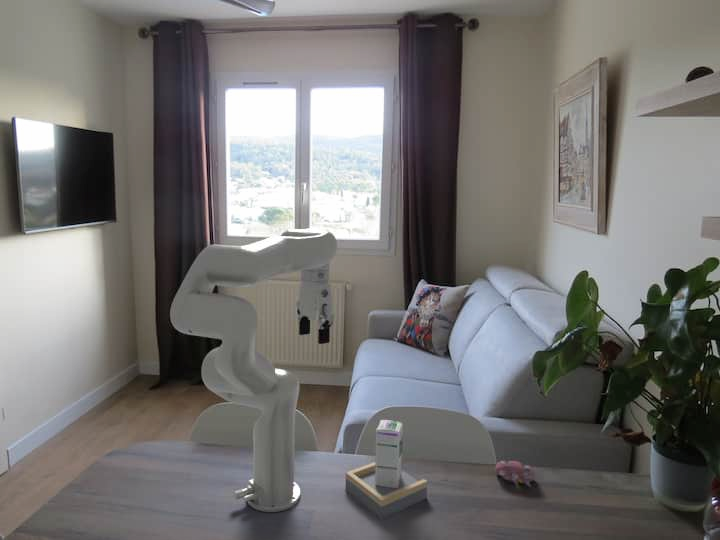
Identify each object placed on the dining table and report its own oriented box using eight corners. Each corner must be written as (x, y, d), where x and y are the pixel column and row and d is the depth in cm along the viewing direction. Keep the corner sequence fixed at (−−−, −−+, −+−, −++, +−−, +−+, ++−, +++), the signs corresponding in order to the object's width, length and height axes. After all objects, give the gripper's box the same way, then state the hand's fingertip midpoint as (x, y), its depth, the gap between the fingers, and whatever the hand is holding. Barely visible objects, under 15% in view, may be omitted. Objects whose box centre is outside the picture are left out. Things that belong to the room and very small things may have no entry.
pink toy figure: (493, 483, 135) (494, 467, 131) (495, 468, 139) (496, 452, 135) (533, 491, 132) (535, 475, 128) (534, 476, 135) (536, 459, 132)
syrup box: (398, 489, 123) (400, 431, 121) (373, 485, 124) (375, 428, 122) (401, 476, 129) (404, 421, 126) (378, 473, 130) (380, 418, 128)
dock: (381, 518, 117) (382, 500, 116) (345, 489, 128) (345, 472, 127) (426, 498, 125) (427, 481, 124) (389, 472, 136) (389, 456, 135)
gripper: (345, 279, 132) (343, 344, 134) (310, 270, 145) (309, 329, 148) (320, 281, 127) (319, 349, 130) (286, 271, 141) (285, 333, 143)
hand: (313, 338), depth 139 cm, fingers open, 9 cm apart
